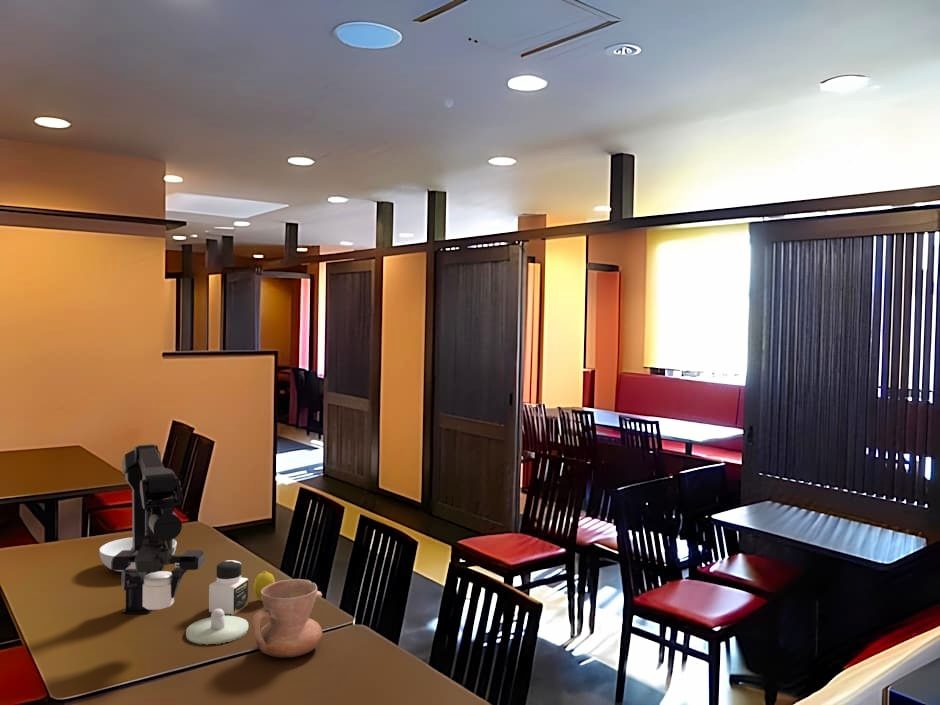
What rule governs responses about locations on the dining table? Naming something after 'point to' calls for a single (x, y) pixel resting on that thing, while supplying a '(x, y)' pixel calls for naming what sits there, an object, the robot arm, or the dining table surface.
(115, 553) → the serving bowl
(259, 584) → the lemon
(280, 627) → the ceramic jug
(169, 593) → the white lidded jar
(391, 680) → the dining table surface
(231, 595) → the medicine bottle
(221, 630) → the post stand
